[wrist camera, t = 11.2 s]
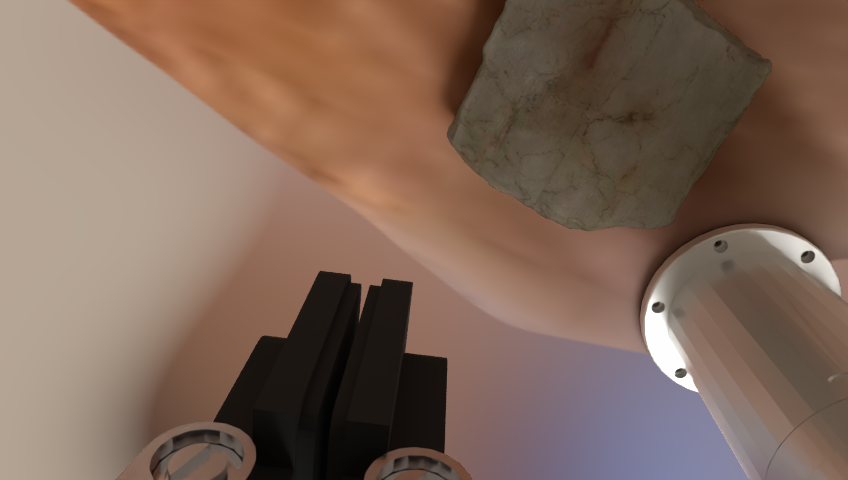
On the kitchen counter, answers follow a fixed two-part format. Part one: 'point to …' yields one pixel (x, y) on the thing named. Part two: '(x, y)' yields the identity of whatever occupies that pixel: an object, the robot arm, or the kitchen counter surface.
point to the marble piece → (604, 107)
